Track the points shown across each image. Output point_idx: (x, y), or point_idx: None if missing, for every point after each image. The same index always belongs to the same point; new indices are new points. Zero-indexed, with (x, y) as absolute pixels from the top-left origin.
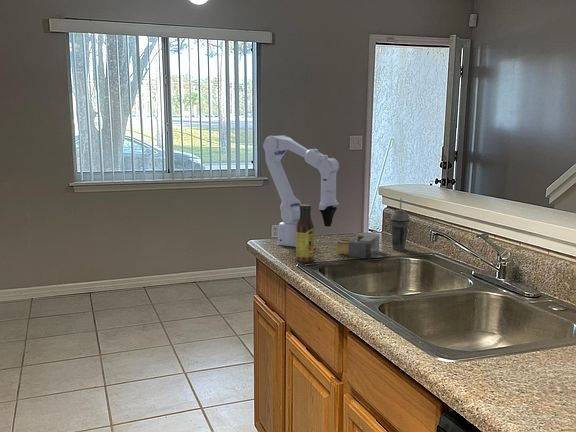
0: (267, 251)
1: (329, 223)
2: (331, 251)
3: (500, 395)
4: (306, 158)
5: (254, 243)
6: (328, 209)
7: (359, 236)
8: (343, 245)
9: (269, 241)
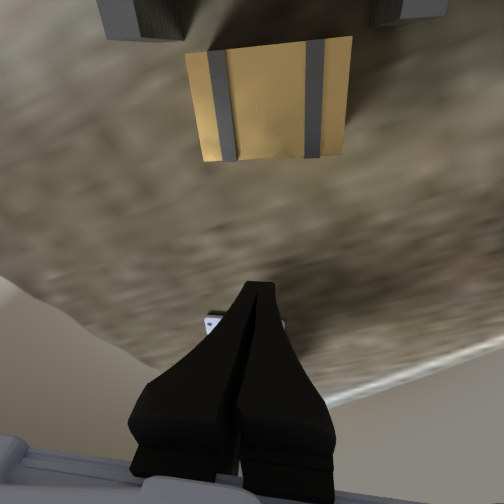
0: (386, 376)
1: (274, 301)
2: (295, 181)
3: None
4: None
5: None
6: (332, 456)
7: (139, 18)
8: (345, 98)
9: None
